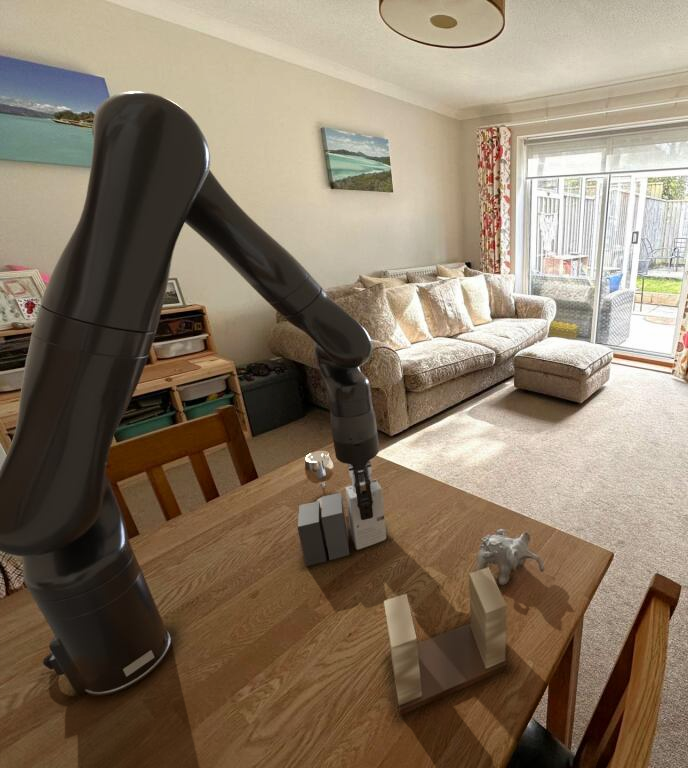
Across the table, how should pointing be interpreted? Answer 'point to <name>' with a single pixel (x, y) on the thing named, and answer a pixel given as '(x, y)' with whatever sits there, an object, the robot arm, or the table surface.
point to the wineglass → (319, 469)
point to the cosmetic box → (370, 528)
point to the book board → (447, 647)
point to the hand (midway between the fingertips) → (365, 507)
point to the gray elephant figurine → (505, 553)
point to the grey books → (323, 530)
